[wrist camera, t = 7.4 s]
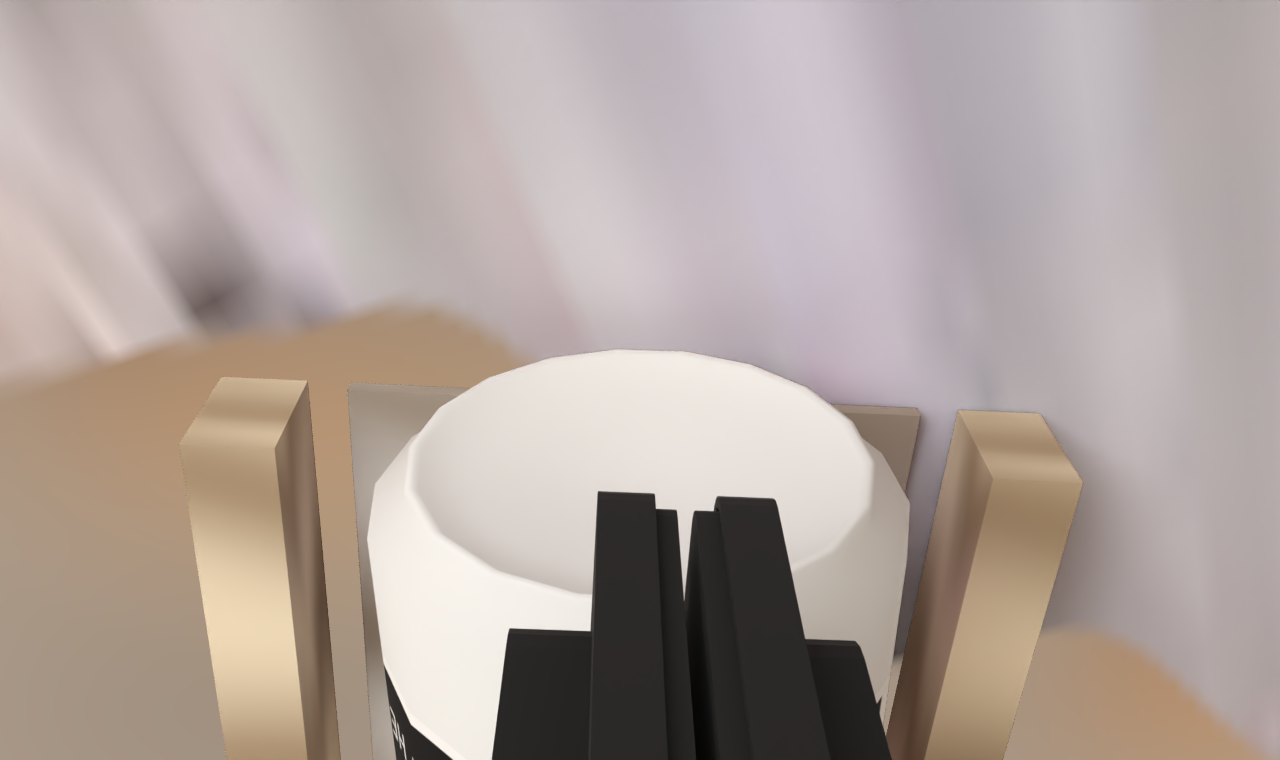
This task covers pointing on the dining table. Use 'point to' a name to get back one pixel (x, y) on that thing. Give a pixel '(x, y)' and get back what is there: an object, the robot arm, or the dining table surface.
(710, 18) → the dining table surface
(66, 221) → the dining table surface
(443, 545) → the supplement can
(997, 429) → the rail cradle
